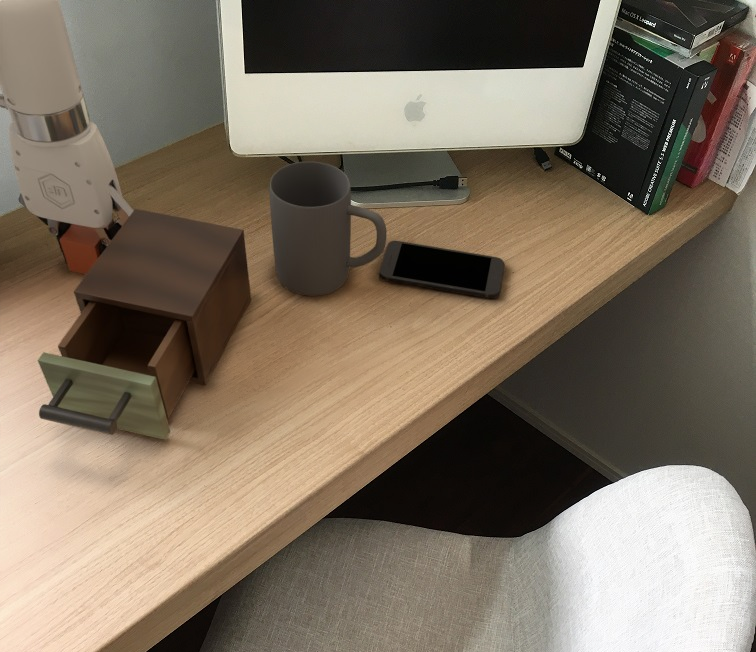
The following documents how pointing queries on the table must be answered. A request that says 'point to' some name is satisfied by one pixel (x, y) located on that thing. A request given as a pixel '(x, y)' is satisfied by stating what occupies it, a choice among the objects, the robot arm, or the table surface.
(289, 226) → the mug
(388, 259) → the smartphone
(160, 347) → the drawer
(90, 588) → the table surface
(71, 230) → the block
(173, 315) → the cabinet
